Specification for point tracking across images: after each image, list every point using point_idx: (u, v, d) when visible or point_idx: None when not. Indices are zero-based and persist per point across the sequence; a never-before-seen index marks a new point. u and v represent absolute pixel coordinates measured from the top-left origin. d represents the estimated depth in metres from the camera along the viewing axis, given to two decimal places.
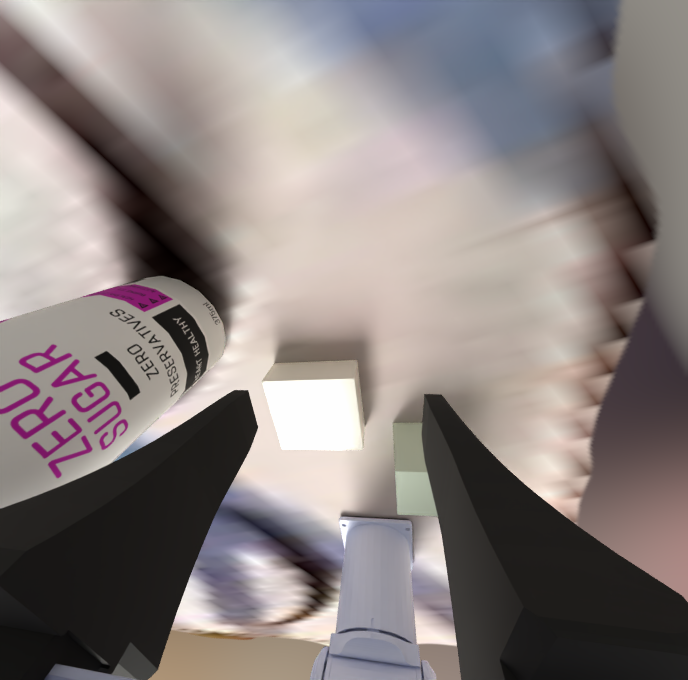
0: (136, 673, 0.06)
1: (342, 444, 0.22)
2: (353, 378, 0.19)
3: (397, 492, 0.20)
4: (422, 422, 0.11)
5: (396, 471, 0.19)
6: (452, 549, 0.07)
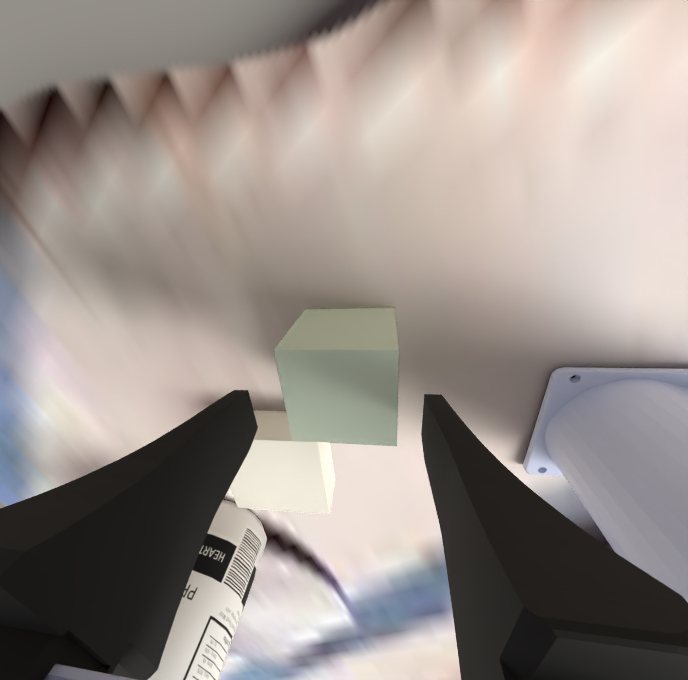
0: (136, 673, 0.06)
1: (310, 460, 0.17)
2: None
3: (338, 441, 0.13)
4: (422, 422, 0.11)
5: (292, 438, 0.13)
6: (452, 549, 0.07)
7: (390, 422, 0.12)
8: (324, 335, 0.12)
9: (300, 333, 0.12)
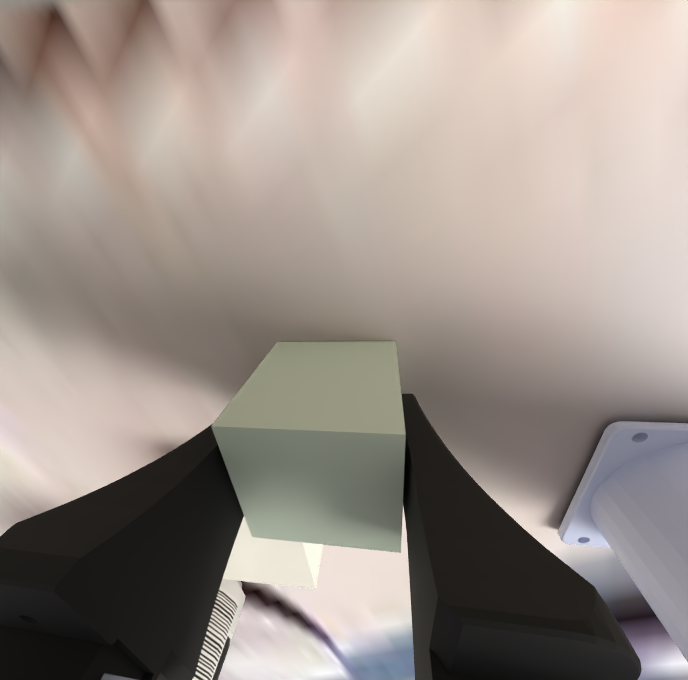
0: None
1: None
2: None
3: (317, 542, 0.09)
4: None
5: (252, 534, 0.09)
6: (411, 545, 0.07)
7: (391, 525, 0.08)
8: (294, 395, 0.08)
9: (259, 390, 0.08)
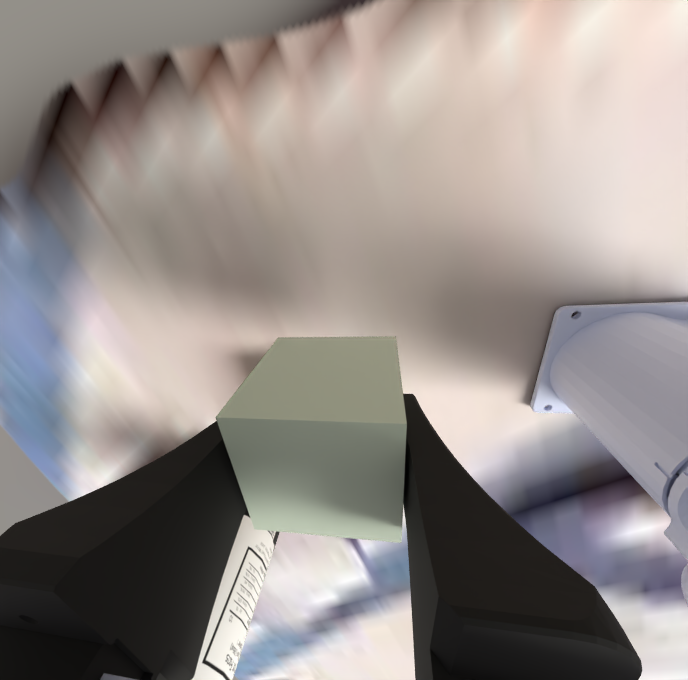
0: None
1: None
2: None
3: (319, 533, 0.09)
4: None
5: (255, 526, 0.09)
6: (411, 545, 0.07)
7: (392, 515, 0.08)
8: (296, 388, 0.08)
9: (262, 383, 0.09)
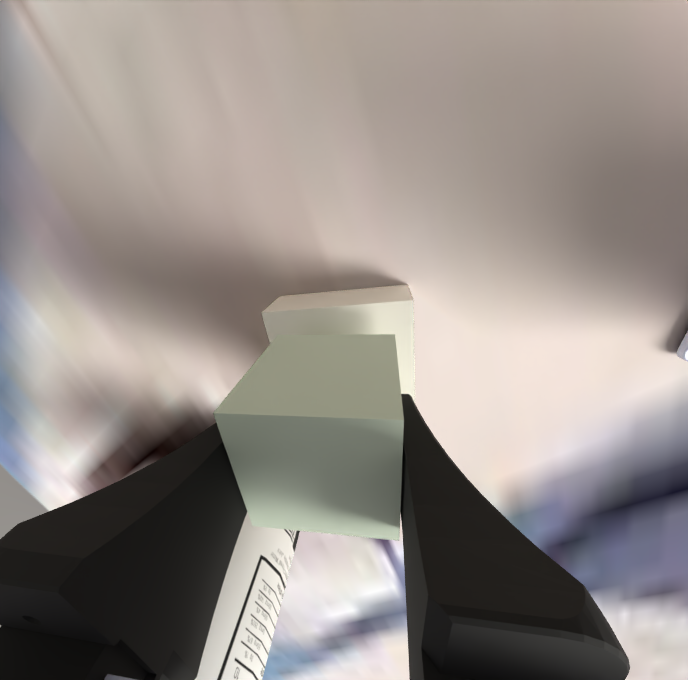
0: None
1: (399, 334, 0.12)
2: (263, 313, 0.13)
3: (317, 530, 0.09)
4: None
5: (253, 523, 0.09)
6: (406, 544, 0.07)
7: (390, 512, 0.08)
8: (294, 384, 0.08)
9: (260, 380, 0.09)
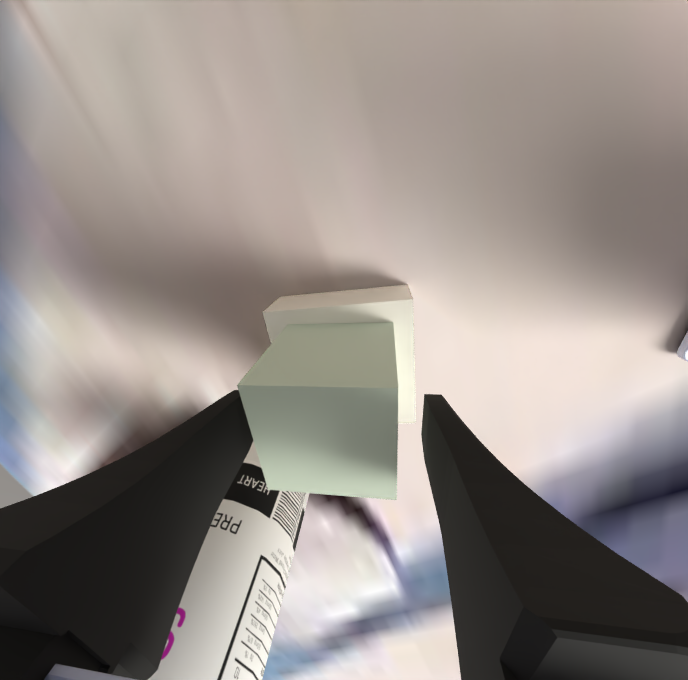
0: (136, 673, 0.06)
1: (399, 333, 0.12)
2: (264, 312, 0.13)
3: (324, 492, 0.10)
4: (422, 422, 0.11)
5: (268, 487, 0.11)
6: (452, 549, 0.07)
7: (388, 473, 0.09)
8: (304, 363, 0.09)
9: (275, 360, 0.10)
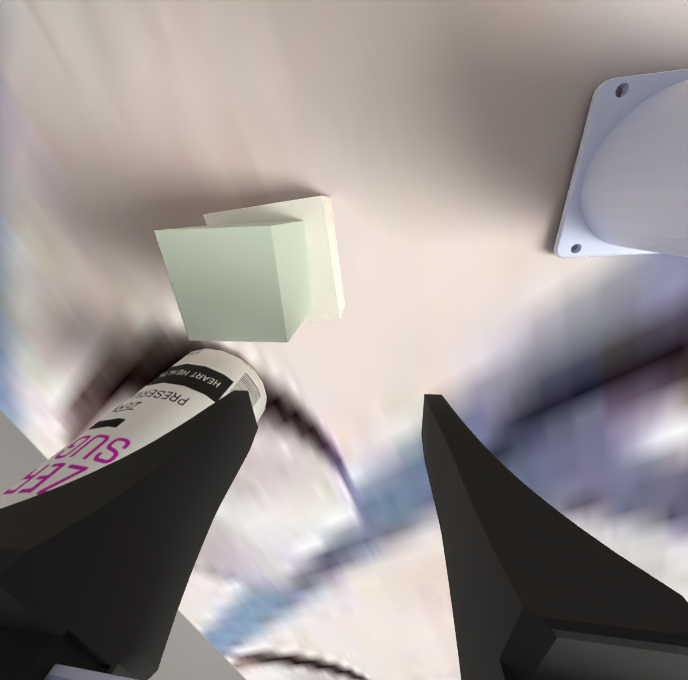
0: (136, 673, 0.06)
1: (315, 229, 0.15)
2: (204, 215, 0.15)
3: (233, 339, 0.13)
4: (422, 422, 0.11)
5: (189, 338, 0.13)
6: (452, 549, 0.07)
7: (277, 313, 0.12)
8: (213, 226, 0.12)
9: (193, 227, 0.12)
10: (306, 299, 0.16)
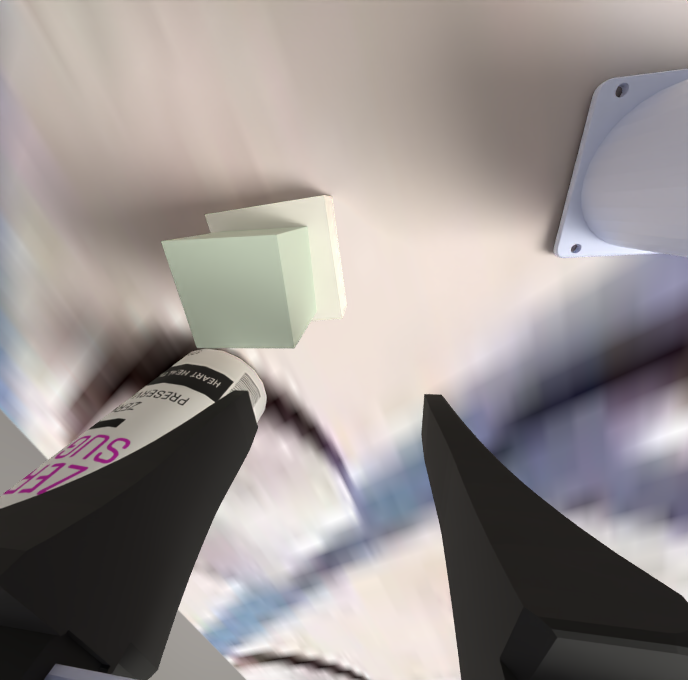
0: (136, 673, 0.06)
1: (317, 229, 0.15)
2: (206, 215, 0.15)
3: (240, 346, 0.13)
4: (422, 422, 0.11)
5: (197, 345, 0.13)
6: (452, 549, 0.07)
7: (283, 320, 0.12)
8: (219, 235, 0.12)
9: (198, 236, 0.12)
10: (310, 303, 0.16)
